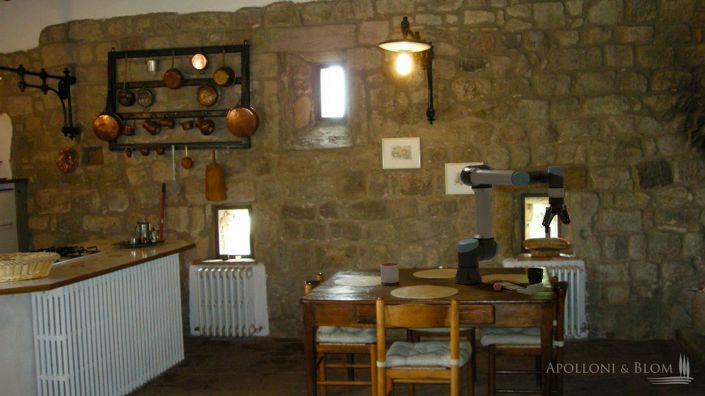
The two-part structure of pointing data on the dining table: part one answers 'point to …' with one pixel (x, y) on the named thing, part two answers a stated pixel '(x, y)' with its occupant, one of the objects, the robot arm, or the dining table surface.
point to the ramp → (510, 286)
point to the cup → (389, 273)
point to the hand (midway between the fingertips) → (556, 238)
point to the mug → (535, 275)
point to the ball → (497, 286)
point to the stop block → (532, 289)
